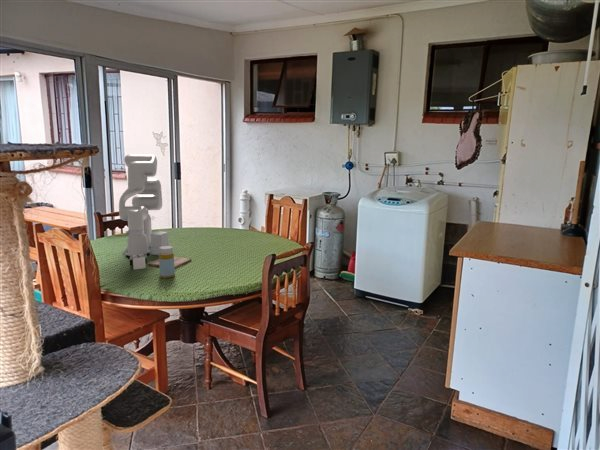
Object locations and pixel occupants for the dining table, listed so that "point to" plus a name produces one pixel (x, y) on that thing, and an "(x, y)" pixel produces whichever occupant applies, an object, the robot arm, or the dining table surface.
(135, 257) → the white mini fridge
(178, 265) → the brown rectangular plate
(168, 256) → the bottle
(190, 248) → the dining table surface
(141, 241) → the robot arm
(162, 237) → the supplement box
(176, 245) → the dining table surface
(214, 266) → the dining table surface
